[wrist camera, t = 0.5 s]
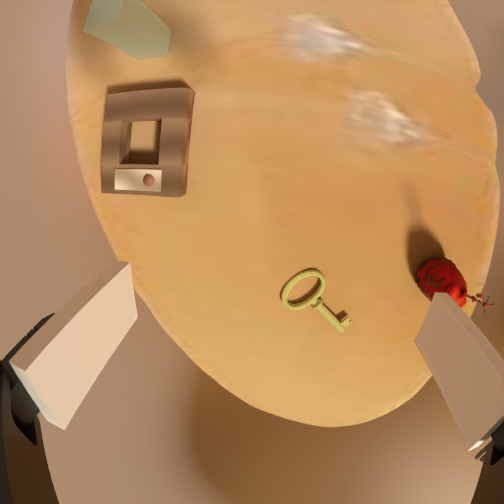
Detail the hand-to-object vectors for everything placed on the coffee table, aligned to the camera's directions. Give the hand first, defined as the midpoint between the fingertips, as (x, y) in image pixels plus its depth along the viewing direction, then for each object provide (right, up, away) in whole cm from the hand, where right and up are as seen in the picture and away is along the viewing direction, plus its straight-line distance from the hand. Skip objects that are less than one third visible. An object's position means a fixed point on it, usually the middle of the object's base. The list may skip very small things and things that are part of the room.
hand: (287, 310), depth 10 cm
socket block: (-15, +17, +23) cm, 32 cm away
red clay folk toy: (+28, -1, +27) cm, 38 cm away
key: (+8, -5, +30) cm, 32 cm away
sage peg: (-15, +31, +17) cm, 39 cm away
